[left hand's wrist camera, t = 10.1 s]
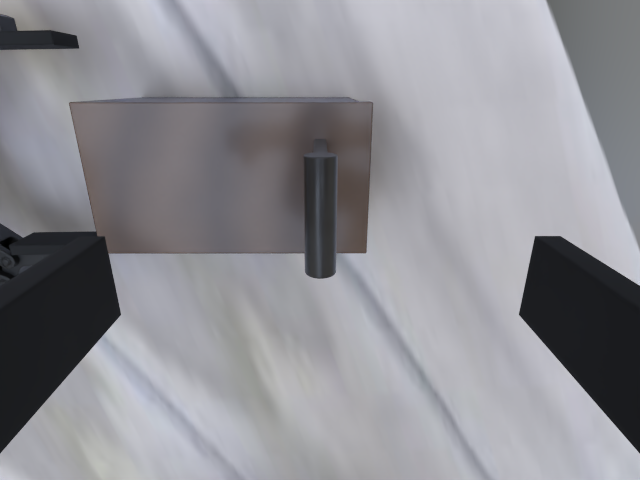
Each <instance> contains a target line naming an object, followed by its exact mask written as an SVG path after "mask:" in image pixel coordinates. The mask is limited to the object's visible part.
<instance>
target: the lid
mask: <svg viewBox="0 0 640 480" xmlns="http://www.w3.org/2000/svg"><path fill="white" fill-rule="evenodd" d="M69 105H70V110H71V115H72V119H73V124H74V129H75V133H76V138H77V143H78V147H79V152H80V157H81V162H82V166H83V171H84V176H85V180H86V185H87V190H88V194H89V199H90V204H91V209H92V213H93V218H94V223H95V227H96V232H97V236H105V240H106V244H107V249H108V253H305V273H306V274H307V275H308V276H310V277H313V278H328V277H331V276H333V275H334V274H335V273H336V253H366V248H367V226H368V204H369V181H370V159H371V137H372V114H373V103H372V102H70V103H69Z"/></svg>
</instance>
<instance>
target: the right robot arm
mask: <svg viewBox="0 0 640 480" xmlns="http://www.w3.org/2000/svg"><path fill="white" fill-rule="evenodd" d="M74 48H79V45H78V40H77V36H75V35H70V34H66V33H61V32H56V31H51V30H45V31H17V28H16V24H15V20H14V18H11V17H9V16H6V15H2V14H0V50H16V49H74ZM79 236H97V232H38V233H32V234H30V235H28V236H26V237H24V238H22V237H21V236H19V235H18V234H16V233H14V232H13V231H11V230H10V229H8V228H7V227H5V226H3V225H2V224H0V286H1V285H3V284H4V283H6V282H7V281H9V280H11V279H12V278H14V277H15V276H17V275H19V274H20V273H22V272H23V271H25V270H27V269H28V268H30V267H31V266H33V265H35V264H36V263H38V262H39V261H41V260H43V259H44V258H46V257H47V256H49V255H51V254H52V253H54V252H55V251H57V250H59V249H60V248H62V247H63V246H65V245H67V244H68V243H70V242H71V241H73V240H75V239H76V238H78V237H79Z"/></svg>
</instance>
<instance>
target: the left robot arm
mask: <svg viewBox="0 0 640 480" xmlns="http://www.w3.org/2000/svg"><path fill="white" fill-rule="evenodd" d="M120 315H121V313H120V308H119V303H118V298H117V293H116V288H115V283H114V278H113V274H112V269H111V264H110V259H109V254H108V249H107V244H106V240H105V236H79V237H78V238H76V239H75V240H73V241H71V242H70V243H68V244H67V245H65V246H63V247H62V248H60V249H59V250H57V251H55V252H54V253H52V254H51V255H49V256H47V257H46V258H44V259H43V260H41V261H39V262H38V263H36V264H35V265H33V266H31V267H30V268H28V269H27V270H25V271H23V272H22V273H20V274H19V275H17V276H15V277H14V278H12V279H11V280H9V281H7V282H6V283H4V284H3V285H1V286H0V453H1V452H2V451H3V449H4V448H5V447H6V446H7V445H8V444H9V443H10V441H11V440H12V439H13V438H14V437H15V436H16V435H17V433H18V432H19V431H20V430H21V429H22V428H23V427H24V425H25V424H26V423H27V422H28V421H29V420H30V418H31V417H32V416H33V415H34V414H35V413H36V412H37V410H38V409H39V408H40V407H41V406H42V405H43V404H44V402H45V401H46V400H47V399H48V398H49V397H50V396H51V394H52V393H53V392H54V391H55V390H56V389H57V387H58V386H59V385H60V384H61V383H62V382H63V381H64V379H65V378H66V377H67V376H68V375H69V374H70V373H71V371H72V370H73V369H74V368H75V367H76V366H77V365H78V363H79V362H80V361H81V360H82V359H83V358H84V356H85V355H86V354H87V353H88V352H89V351H90V350H91V348H92V347H93V346H94V345H95V344H96V343H97V342H98V340H99V339H100V338H101V337H102V336H103V335H104V333H105V332H106V331H107V330H108V329H109V328H110V327H111V325H112V324H113V323H114V322H115V321H116V320H117V319H118V317H119V316H120ZM519 315H520V316H521V317H522V319H523V320H524V321H525V322H526V323H527V324H528V325H529V327H530V328H531V329H532V330H533V331H534V332H535V333H536V335H537V336H538V337H539V338H540V339H541V340H542V342H543V343H544V344H545V345H546V346H547V347H548V348H549V350H550V351H551V352H552V353H553V354H554V355H555V356H556V358H557V359H558V360H559V361H560V362H561V363H562V365H563V366H564V367H565V368H566V369H567V370H568V371H569V373H570V374H571V375H572V376H573V377H574V378H575V379H576V381H577V382H578V383H579V384H580V385H581V386H582V387H583V389H584V390H585V391H586V392H587V393H588V394H589V396H590V397H591V398H592V399H593V400H594V401H595V402H596V404H597V405H598V406H599V407H600V408H601V409H602V410H603V412H604V413H605V414H606V415H607V416H608V417H609V418H610V420H611V421H612V422H613V423H614V424H615V425H616V427H617V428H618V429H619V430H620V431H621V432H622V433H623V435H624V436H625V437H626V438H627V439H628V440H629V441H630V443H631V444H632V445H633V446H634V447H635V448H636V449H637V451H638V452H639V453H640V286H639V285H637V284H636V283H634V282H633V281H631V280H629V279H628V278H626V277H625V276H623V275H621V274H620V273H618V272H617V271H615V270H613V269H612V268H610V267H609V266H607V265H605V264H604V263H602V262H601V261H599V260H597V259H596V258H594V257H593V256H591V255H589V254H588V253H586V252H585V251H583V250H581V249H580V248H578V247H577V246H575V245H573V244H572V243H570V242H569V241H567V240H565V239H564V238H562V237H561V236H535V240H534V244H533V249H532V254H531V259H530V264H529V269H528V274H527V278H526V283H525V288H524V293H523V298H522V303H521V308H520V313H519Z"/></svg>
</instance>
